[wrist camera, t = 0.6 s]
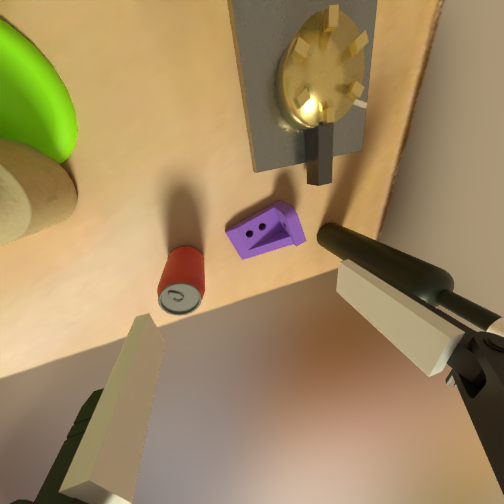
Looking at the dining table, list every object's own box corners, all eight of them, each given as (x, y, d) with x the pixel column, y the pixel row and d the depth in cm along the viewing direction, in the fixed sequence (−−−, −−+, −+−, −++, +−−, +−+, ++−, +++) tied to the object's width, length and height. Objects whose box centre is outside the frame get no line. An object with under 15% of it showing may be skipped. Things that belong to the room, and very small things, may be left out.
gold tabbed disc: (272, 33, 23) (287, 5, 19) (348, 26, 24) (377, -2, 20) (284, 188, 32) (296, 192, 27) (340, 176, 33) (359, 177, 29)
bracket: (278, 199, 35) (294, 207, 29) (290, 228, 38) (306, 240, 32) (224, 229, 35) (229, 243, 29) (240, 256, 38) (248, 273, 32)
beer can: (183, 237, 33) (175, 271, 23) (211, 258, 36) (215, 296, 26) (160, 262, 34) (142, 305, 23) (189, 280, 37) (184, 325, 27)
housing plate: (226, -4, 22) (229, -20, 20) (367, -13, 25) (381, -27, 23) (253, 172, 31) (257, 172, 29) (353, 151, 34) (362, 150, 32)
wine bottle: (341, 238, 42) (569, 356, 16) (320, 250, 42) (514, 388, 16) (336, 217, 39) (603, 319, 13) (313, 230, 39) (537, 358, 13)
